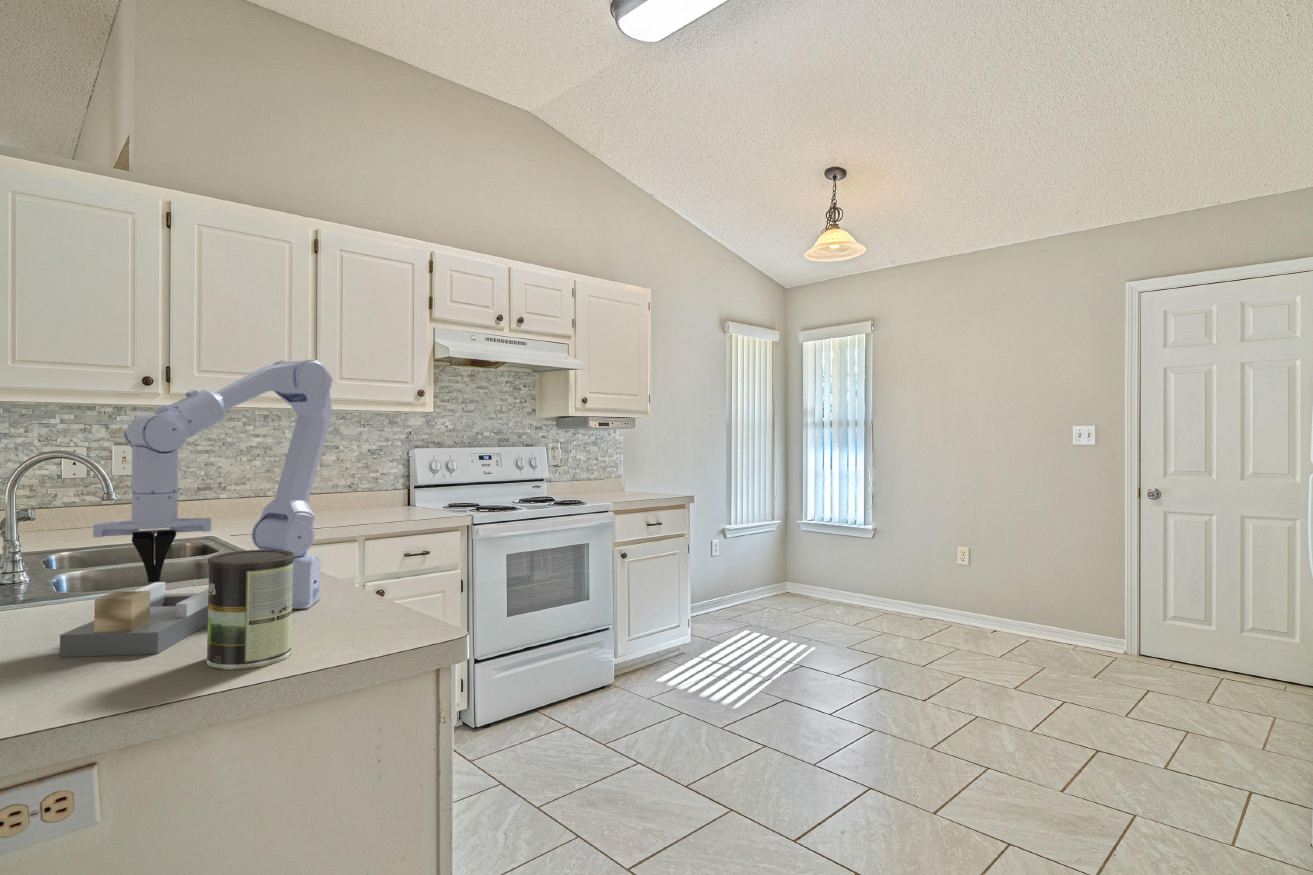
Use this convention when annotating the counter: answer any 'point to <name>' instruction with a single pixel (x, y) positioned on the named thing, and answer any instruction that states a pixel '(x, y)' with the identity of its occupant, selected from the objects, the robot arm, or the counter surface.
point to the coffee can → (249, 608)
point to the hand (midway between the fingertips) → (154, 581)
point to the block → (122, 611)
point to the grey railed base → (143, 627)
